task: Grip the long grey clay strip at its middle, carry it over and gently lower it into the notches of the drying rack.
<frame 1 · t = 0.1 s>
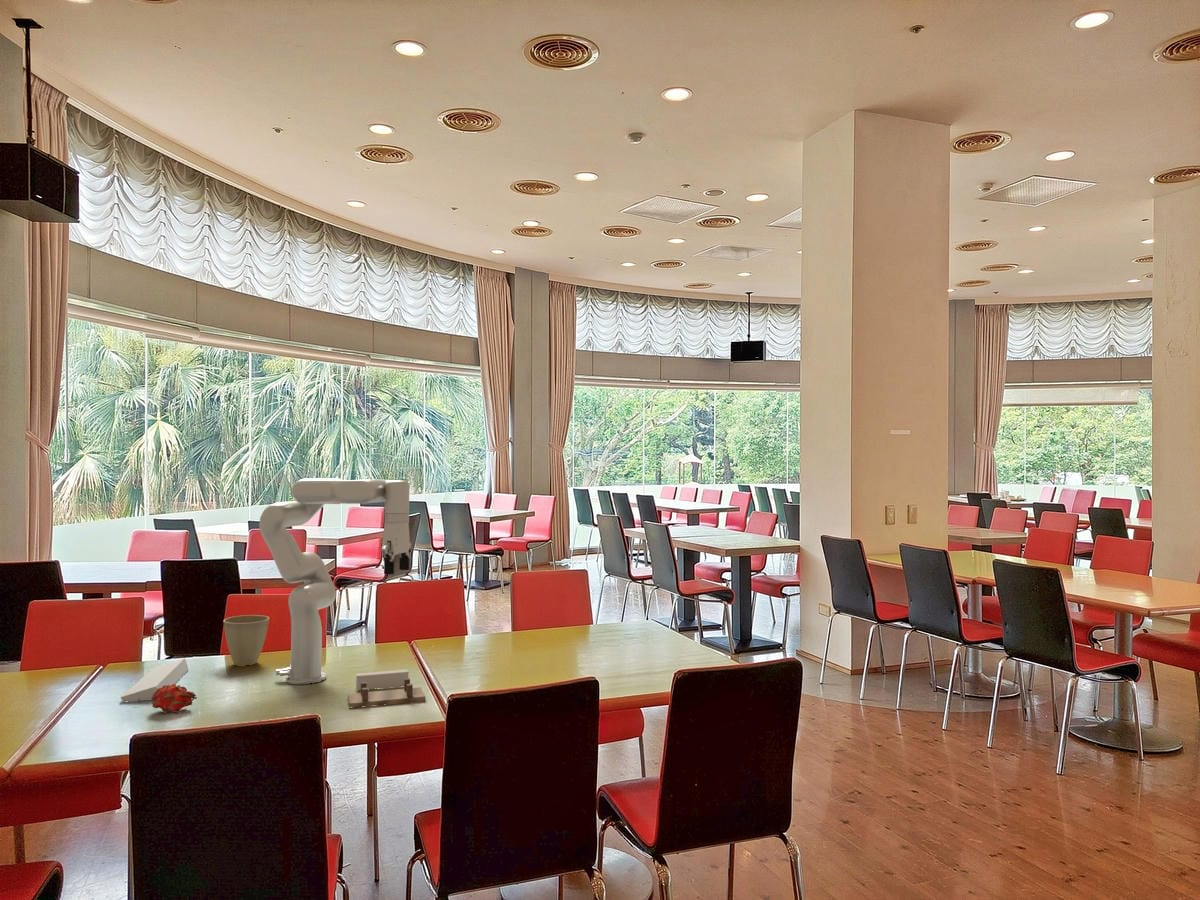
hand: (396, 571, 257), 37 cm above the table, tool pointing down, fingers open, 9 cm apart
plant pot: (246, 664, 284), on the table
dragon fruit: (173, 711, 232), on the table
drying rack: (386, 700, 244), on the table
clay strip: (382, 688, 257), on the table
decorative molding: (156, 688, 257), on the table
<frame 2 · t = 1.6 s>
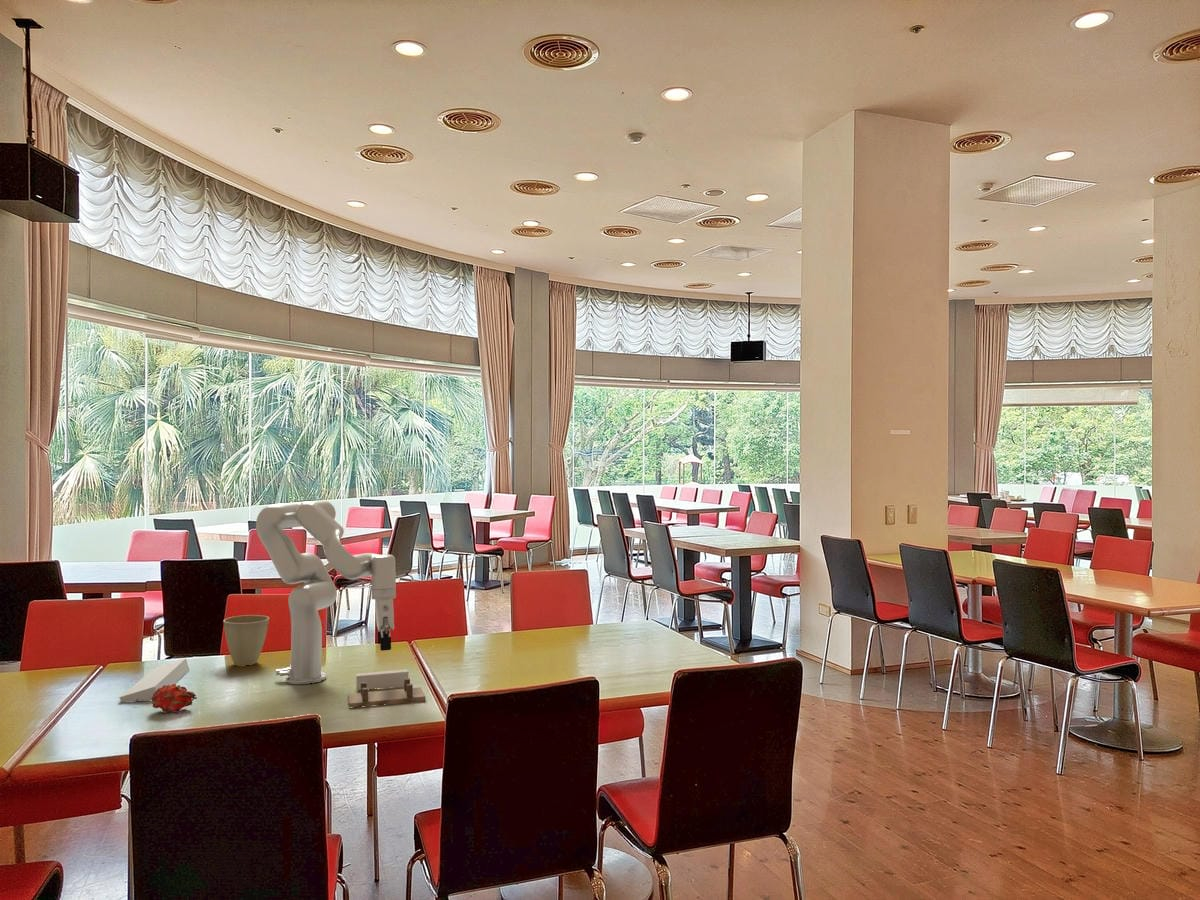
hand: (384, 646, 257), 13 cm above the table, tool pointing down, fingers open, 9 cm apart
nothing on the table moved.
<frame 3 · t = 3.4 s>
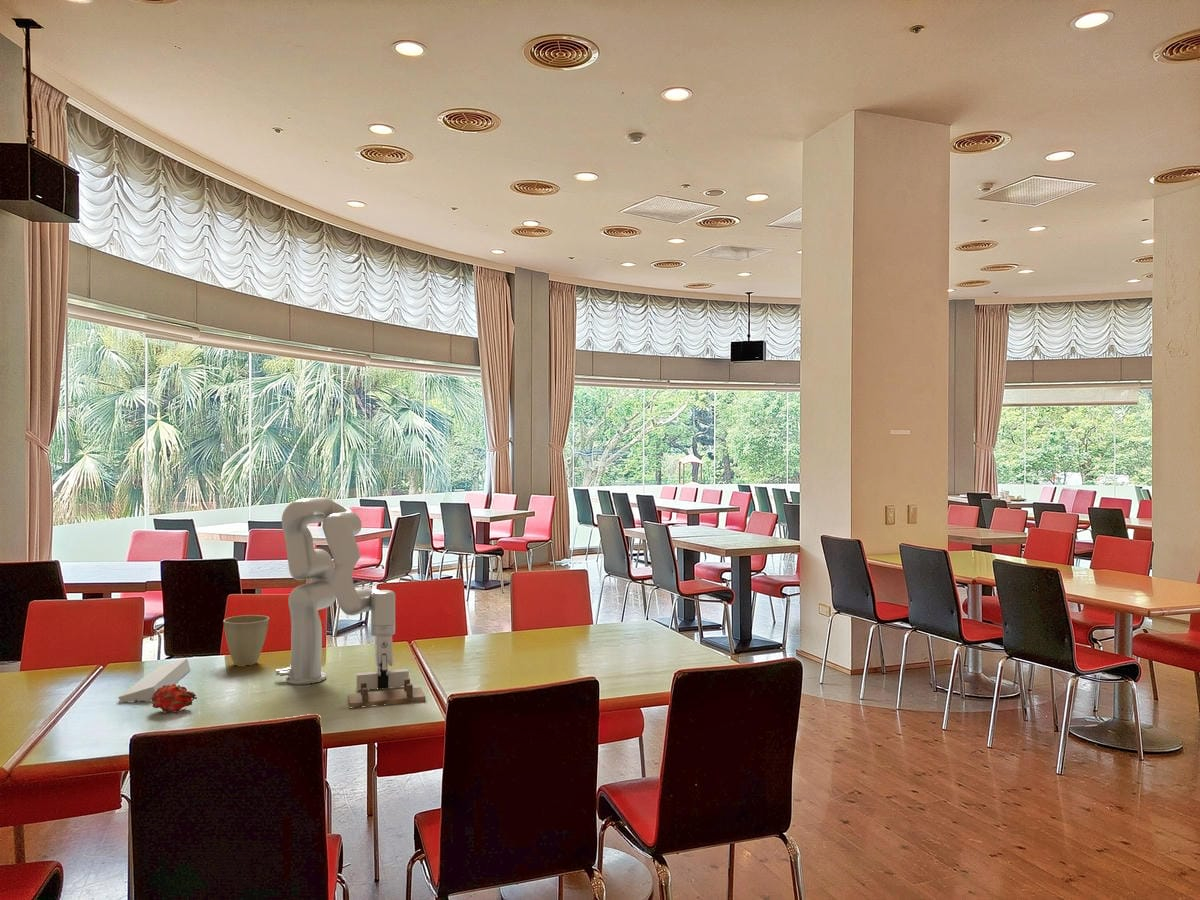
hand: (382, 686, 257), 0 cm above the table, tool pointing down, fingers closed on clay strip, 3 cm apart
clay strip: (382, 687, 257), on the table, touching gripper
everything else where it was.
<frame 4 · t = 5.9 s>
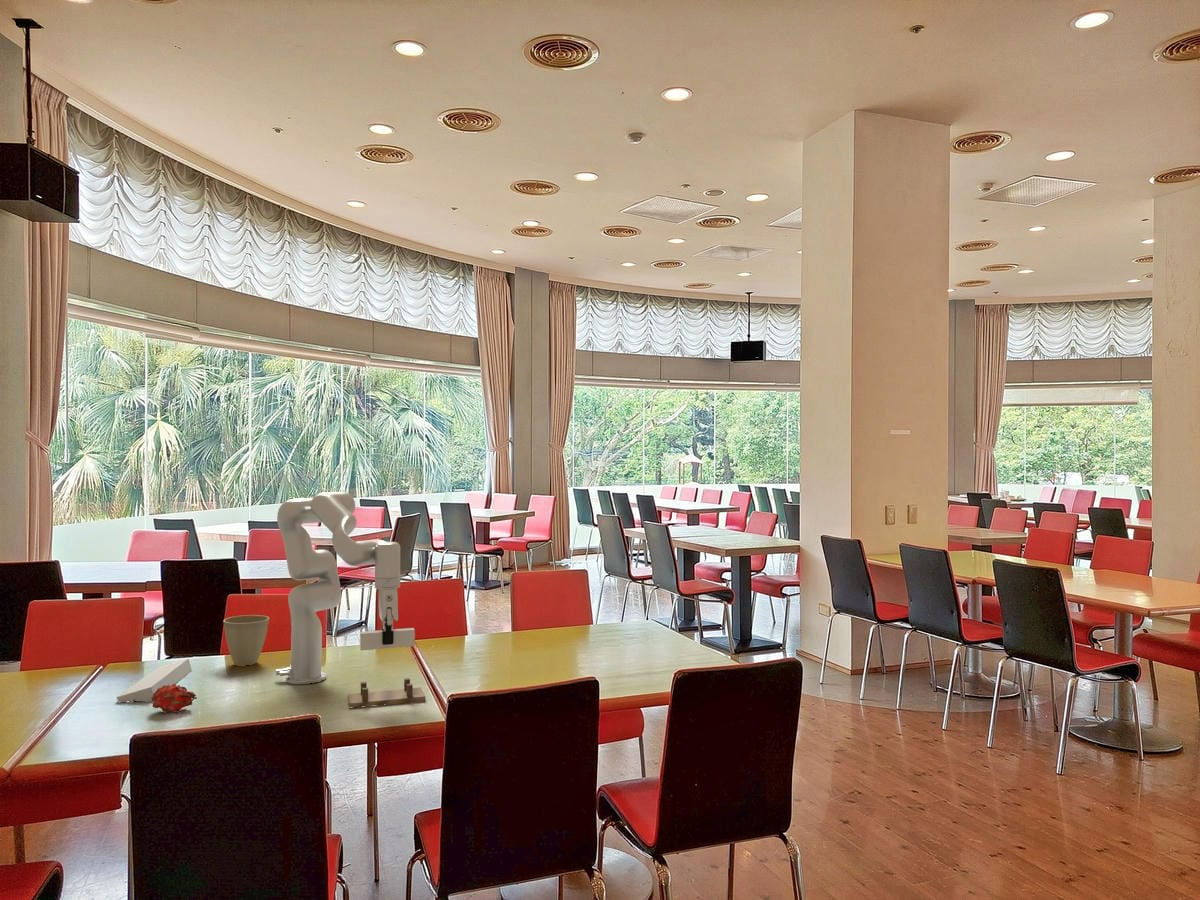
hand: (387, 642, 244), 17 cm above the table, tool pointing down, fingers closed on clay strip, 2 cm apart
clay strip: (387, 647, 244), point 16 cm above the table, touching gripper
everything else where it was.
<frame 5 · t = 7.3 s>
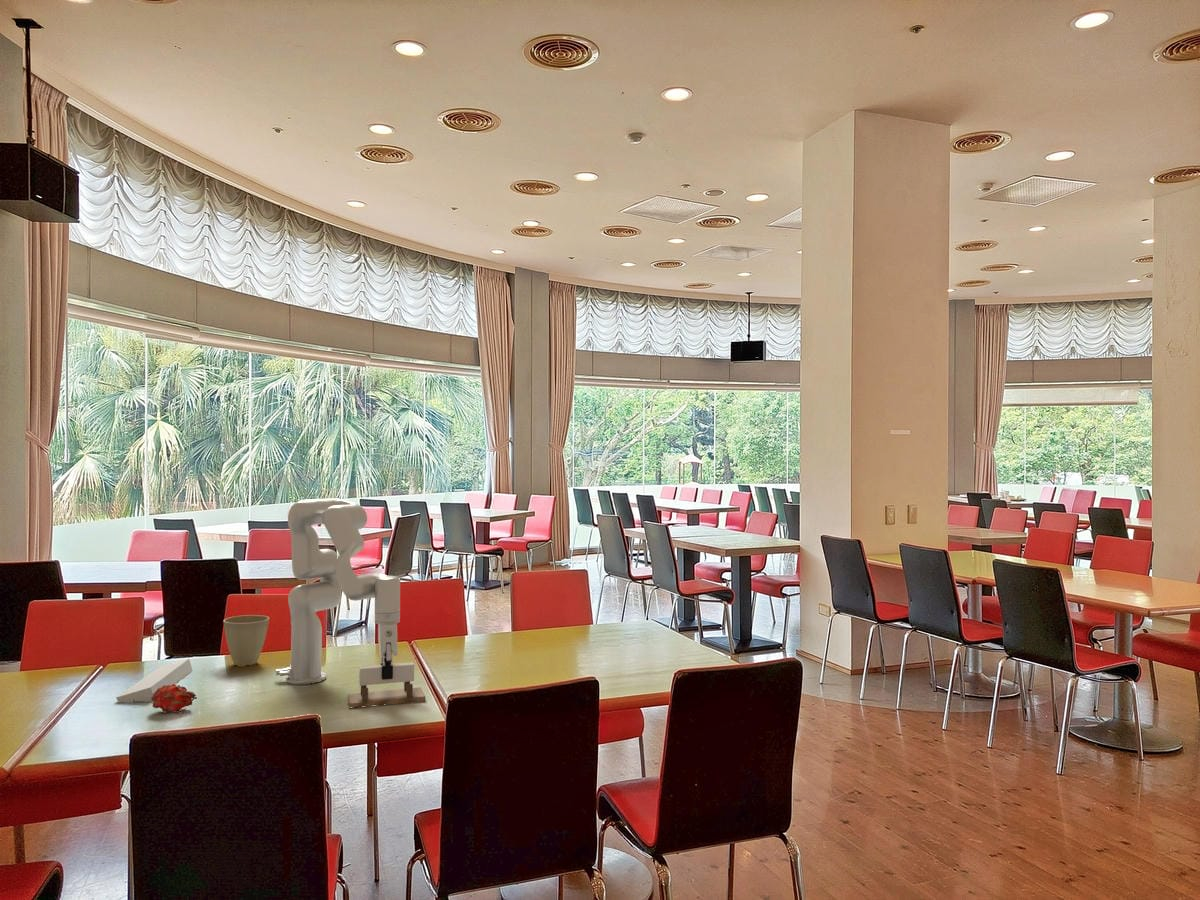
hand: (386, 676, 244), 7 cm above the table, tool pointing down, fingers closed on clay strip, 2 cm apart
clay strip: (386, 682, 244), point 5 cm above the table, touching gripper
everything else where it was.
when the fingers open (3 cm above the table, at t = 8.3 s): clay strip stays where it is, resting on drying rack.
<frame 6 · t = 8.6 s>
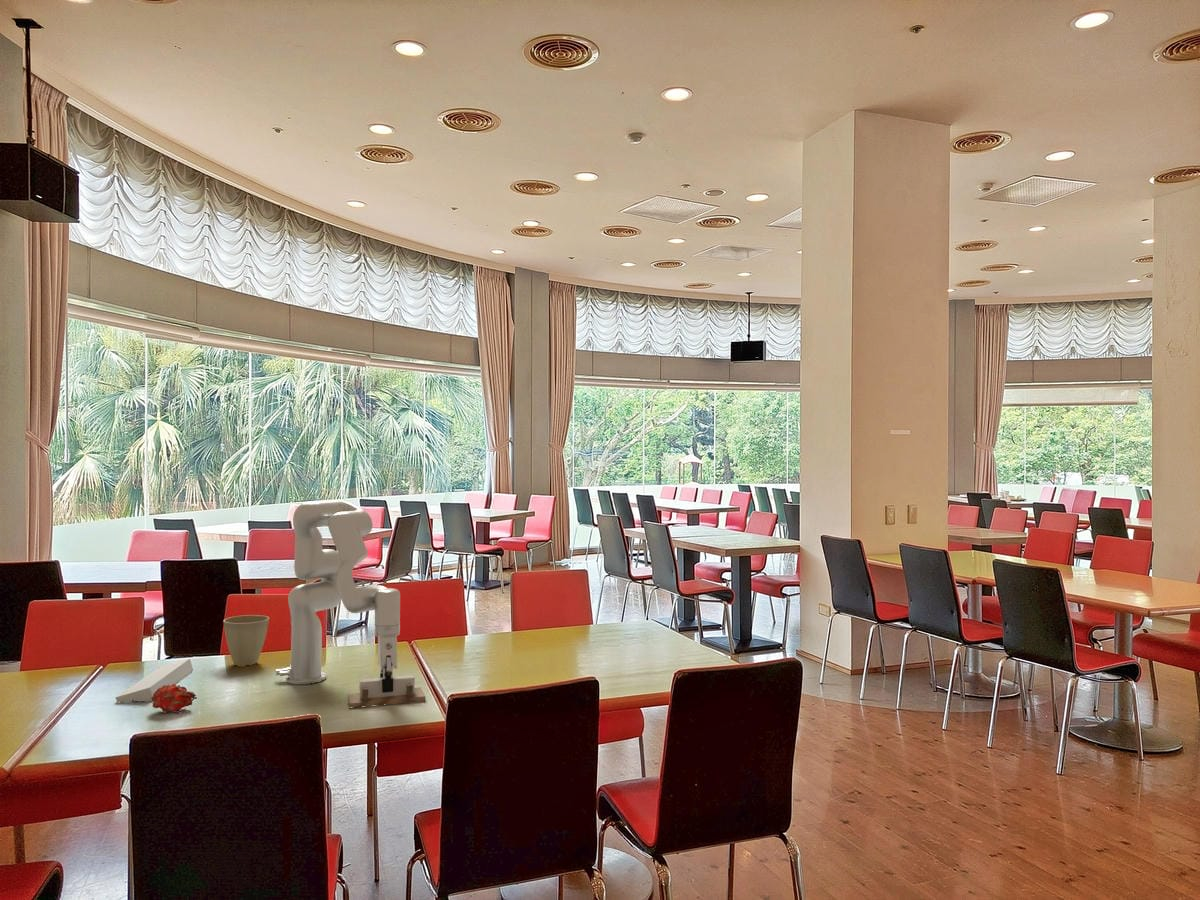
hand: (386, 688, 244), 4 cm above the table, tool pointing down, fingers open, 6 cm apart
clay strip: (387, 695, 244), point 1 cm above the table, touching drying rack
everything else where it was.
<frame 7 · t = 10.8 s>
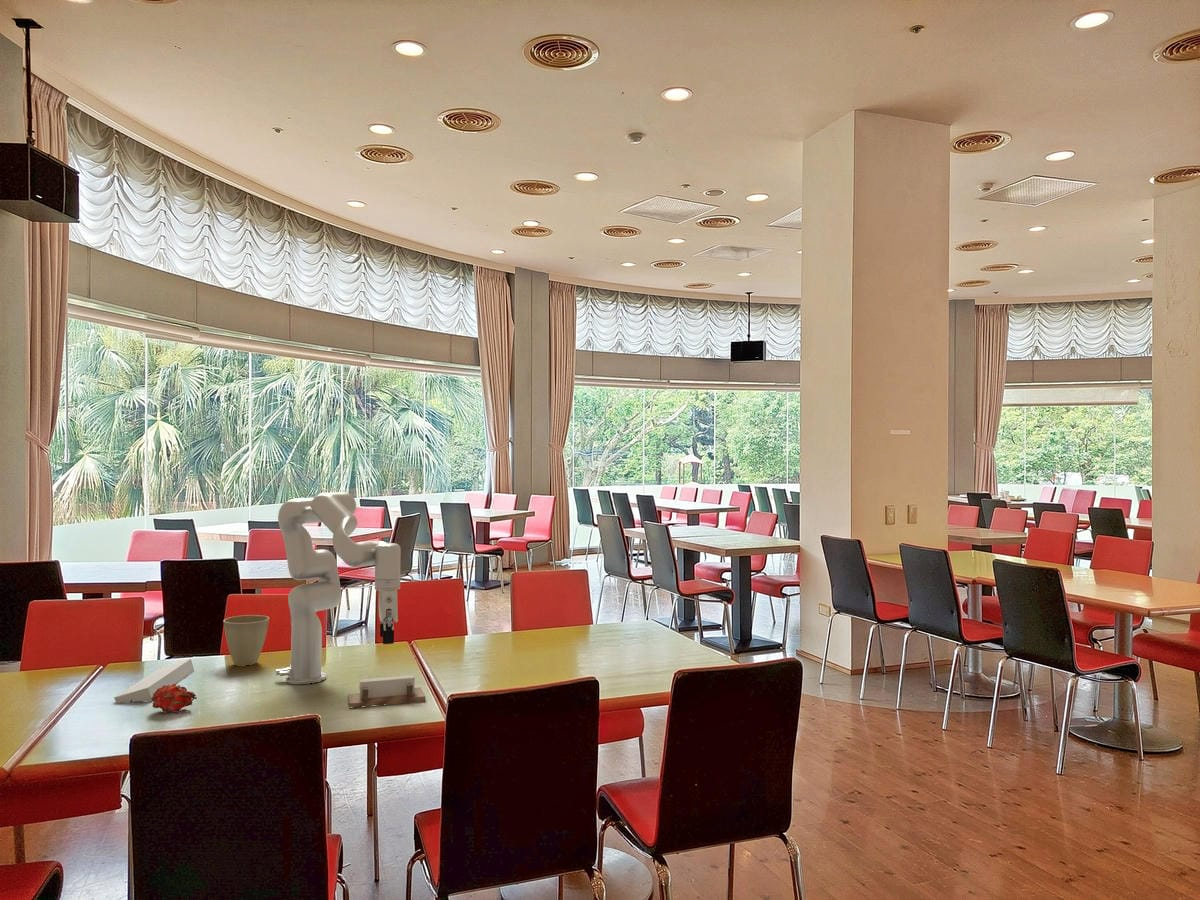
hand: (386, 640, 244), 18 cm above the table, tool pointing down, fingers open, 9 cm apart
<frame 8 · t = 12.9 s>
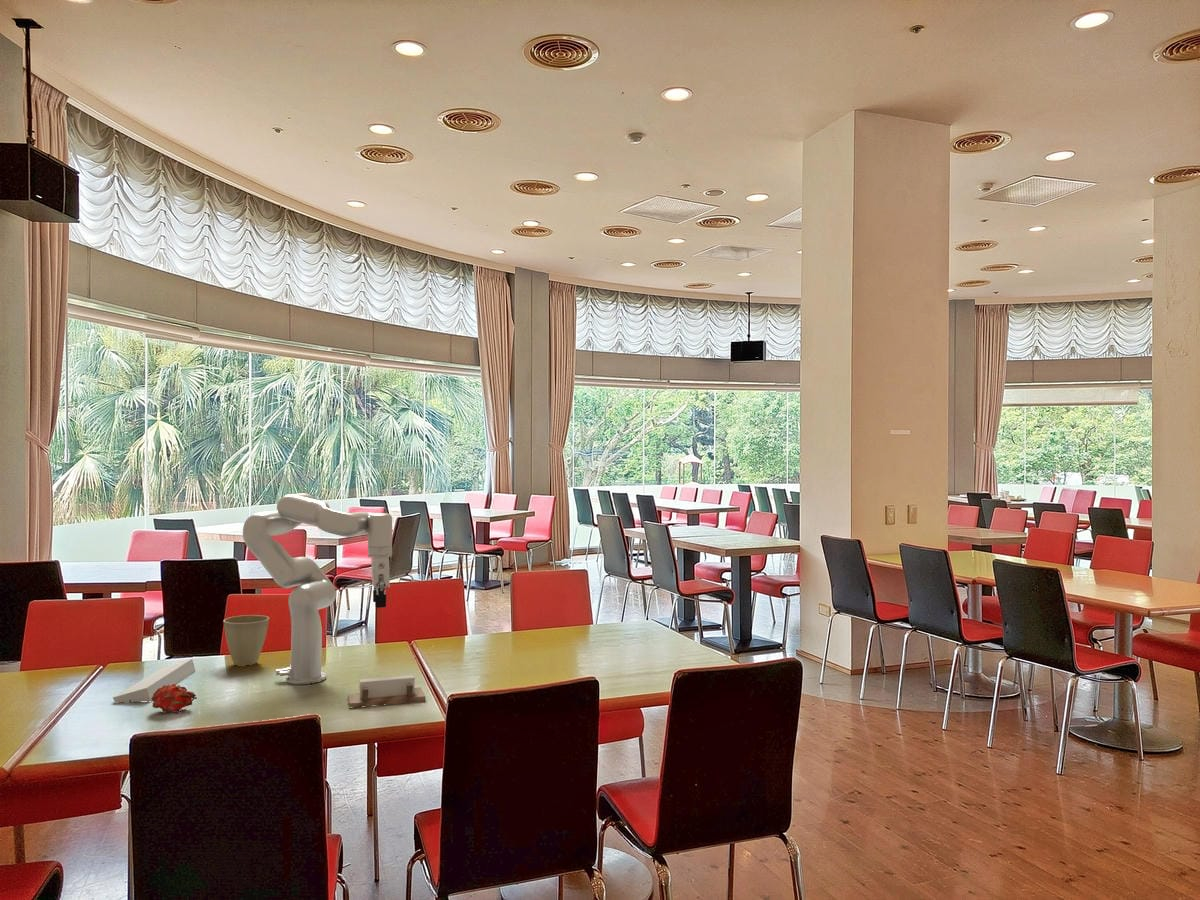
hand: (379, 604, 259), 26 cm above the table, tool pointing down, fingers open, 9 cm apart
at the end: clay strip 0.2 cm off-centre on the drying rack, point 1.5 cm above the drying rack's base; clay strip tilted 0°; the gripper is holding nothing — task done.
